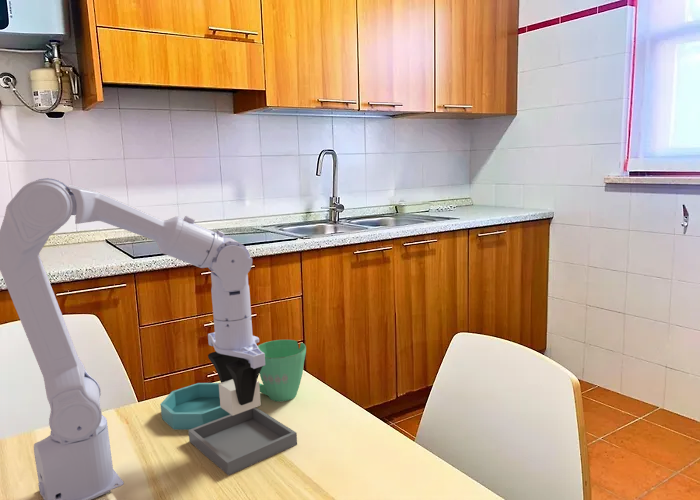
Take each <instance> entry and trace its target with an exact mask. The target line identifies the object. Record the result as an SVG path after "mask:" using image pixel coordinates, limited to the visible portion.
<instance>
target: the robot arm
mask: <svg viewBox="0 0 700 500" xmlns="http://www.w3.org/2000/svg"><path fill="white" fill-rule="evenodd" d="M72 216H75V220H74V221H75V225H78V224H83V223H84V224H85V223H92V222H102V223H106V224H107V225H111V226H113V227H117V228H119V229H121V230H124V231H128V232H131V233H133V234H135V235H139V236H141V237H144V238H147V239H150V240H153V241H155V243H156V244H157V248H158V249H159V252H160V253H161V254H163V255H166V256H169V257H171V258H174V259H177V260H179V261H182V262H185V263H186V264H189V265H192V266H195V267H197V268H200V269H205V268H208V269H209V270H210V271H211V272H210V278H211V280H210V281H211V291H210V292H211V303H212V314H213V326H214V327H213V328H214V332H210V333H207V340H208V341H207V342H208V346H211V347H213V348H214V351H213V352H210V353H208V354H207V358H208V360H209V361H210V362H211V363H212V365H213V367H214V370H215V371H216V374H217V375H218V378H219V381H220V383H222V382H225V381H228V380H231V379H233V381H234V384H235V389H236V394H237V399H238V402H239V404H240V405H244V404H247V403H250V402H252V401H253V397H254V392H255V387H256V382H257V381H258V378H259V377H260V371H261V369H262V367H263V366H264V365H265V353H263V352H262V351H261V350H260V349H259V348H258V346H259V345H257V344H258V343H260V338H259V337H258V336H255V335H254V334H253V323H252V321H253V320H252V308H251V307H252V306H251V294H250V292H251V291H250V285H249V275H248V273H249V272H250V271H251V269H252V266H253V258H252V257H251V255H250V251H249V250H248V249H247V247H246V246H245V245H244V244H242V243H241V242H239V241H237V240H235V239H233V238H231V237H230V236H229V235H225V232H223V231H221V230H219V229H217V230H216V231H213V230H211V229H208V228H206V227H204V226H202V225H199V224H196V223H195V221H196V219H194V218H192V217H190V216H188V215H184V217H183V218H182V217H180V216H174V217H171V218H168V219H165V220H164V219H160V218H159V217H156V216H154V215H151V214H150V213H147V212H145V211H142V210H141V209H137V208H135V207H133V206H131V205H129V204H126V203H124V202H122V201H120V200H118V199H115V198H113V197H111V196H108V195H107V194H104V193H102V192H99V191H96V190H93V189H89V188H86V187H82V186H80V185H74V184H71V183H70V184H69V185H66V184H65V183H64V182H62V181H61V180H59V179H55V178H52V177H51V178H49V177H44V178H38V179H36V180H34V181H31V182H29V183H26V184H25V185H24V186H22V187H21V188H20V189H19V191H18V192H16V194H15V195H14V196H13V198H12V199H11V200H10V201H9V202H8V204H7V205H6V208H5V212H4V217H3V220H2V224H1V227H0V273H1V276H2V279H3V281H4V284H5V286H6V288H7V291H8V293H9V296H10V298H11V300H12V303H13V306H14V308H15V310H16V313H17V315H18V318H19V320H20V323H21V325H22V327H23V330H24V333H25V334H26V335H25V336H26V338H27V341H28V342H29V345H30V347H31V350H32V352H33V355H34V357H35V359H36V362H37V364H38V366H39V370H40V372H41V375H42V377H43V381H44V387H45V393H46V398H47V402H48V404H49V406H50V412H49V413H50V414H49V418H48V425H49V429H50V432H49V435H48V436H46V437H45V438H44V439H41V440H40V441H37V442H35V443H34V444H33V454H34V455H33V456H34V462H35V466H36V467H35V468H36V473H37V479H38V480H37V481H38V483H37V485H38V490H39V494H40V495H41V497H42V499H43V500H94V499H96V498H98V497H100V496H102V495H105V494H108V493H111V492H112V490H115V489H117V488H119V487H121V486H123V485H124V483H125V482H124V481H123V480H122V478H121V477H120V476H119V474H118V473H117V472H116V470H115V469H114V467H113V466H114V465H113V459H112V450H111V442H110V434H109V425H108V419H107V417H106V416H104V415H103V414H102V408H101V399H100V398H101V387H100V384H99V382H98V381H97V380H96V378H94V377H92V376H91V375H90V374H89V373H88V371H87V370H86V367H85V365H84V363H83V361H82V360H81V359H80V357H79V355H78V353H77V350H76V347H75V344H74V342H73V340H72V337H71V335H70V332H69V329H68V325H67V324H66V320H65V319H64V316H63V313H62V311H61V309H60V306H59V303H58V300H57V298H56V294H55V291H54V290H53V288H52V285H51V283H50V282H51V281H50V279H49V277H48V275H47V272H46V269H45V267H44V264H43V262H42V258H41V255H40V253H41V252H42V249H43V248H44V247H45V245H46V243H47V241H48V240H49V239H50V237H51V236H52V235H53V234H54V233H55V232H57V231H58V230H60V229H61V227H63V226H64V225H65V224H67V222H68V221H69V220H70V219H71V218H70V217H72Z"/></svg>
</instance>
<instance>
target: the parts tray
mask: <svg viewBox="0 0 700 500" xmlns="http://www.w3.org/2000/svg"><path fill="white" fill-rule="evenodd" d="M187 432H188V439H189V441H188V442H189V443H190V444H192V445H193V446H194V447H195V448H196V449H197V450H199V452H200V453H202V454H203V455H204V456H205V457H206V458H207V459H209V460H210V461H211V462H212V463H213V464H214V465H215V466H217V467H218V468H219V469H220V470H221V471H222V472H224V473H225V474H226V475H227V476H229V477H230V476H231V475H234V474H236V473H238V472H240V471H242V470H244V469H247V468H249V467H251V466H253V465H256V464H257V463H259V462H262V461H264V460H266V459H268V458H271V457H273V456H275V455H277V454H280V453H282V452H284V451H287V450H288V449H289V450H290V448H293V447H295V446H298V437H297V433H298V432H296V431H294V430H293V429H292V428H289V427H288V426H287V425H285V424H283V423H282V422H280V421H279V420H278V419H276V418H274V417H272V416H271V415H269V413H266V412H264V411H263V410H261V409H260V408H258V407H255V408H252V409H250V410H247V411H244V412H241V413H239V414H236V415H233V416H232V415H231V414H230V415H227V416H225V417H222V418H219V419H217V420H214V421H211V422H209V423H206V424H203V425H201V426H198V427H195V428H193V429H190V430H187Z"/></svg>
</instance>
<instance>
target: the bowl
mask: <svg viewBox="0 0 700 500" xmlns="http://www.w3.org/2000/svg"><path fill="white" fill-rule="evenodd" d="M219 383H220V382H197V383H194V384H191V385H188V386H184V387H181V388H178V389H175V390H172V391H171V392H170V393H169V394H168V395H167V396H166V397H165V398H164V400H163V401H161V402H160V414H161V420H162V421H164V422H165V423H166V424H167V425H168V426H169V427H170V428H172V430H187V431H188V430H190V429H193V428H195V427H198V426H201V425H203V424H206V423H209V422H211V421H214V420H217V419H219V418H222V417H225V416H227V415H230V413H228V412H227V411H225V410H224V409H222V408H221V407H220V395H219Z"/></svg>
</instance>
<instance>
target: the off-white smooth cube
mask: <svg viewBox="0 0 700 500" xmlns="http://www.w3.org/2000/svg"><path fill="white" fill-rule="evenodd" d="M218 383H219V395H220V407H221V408H222V409H224V410H225V411H227V412H228V413H230V414H231V415H232V416H233V415H236V414H239V413H241V412H244V411H247V410H250V409H252V408H255V407H256V408H258V407H260V406H261V392H260V386H259V383H260V381H258V380H257V382H256V387H255V392H254V397H253V401H252V402H250V403H247V404H244V405H240V404H239V402H238V399H237V394H236V389H235V384H234V381H233V379H231V380H228V381H225V382H222V383H221V382H218Z"/></svg>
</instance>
